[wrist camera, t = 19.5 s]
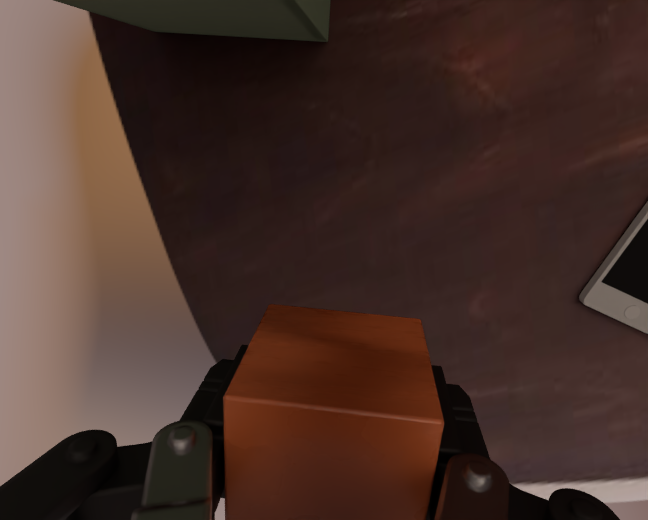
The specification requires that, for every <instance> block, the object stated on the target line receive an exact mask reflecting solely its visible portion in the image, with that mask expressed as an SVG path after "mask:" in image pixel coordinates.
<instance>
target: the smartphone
mask: <svg viewBox="0 0 648 520" xmlns="http://www.w3.org/2000/svg"><path fill="white" fill-rule="evenodd" d="M579 300H580V301H581V302H582V303H583V304H584V305H586V306H588V307H590V308H592V309H595V310H597V311H599V312H601V313H603V314H606V315H608V316H610V317H612V318H614V319H616V320H619V321H621V322H623V323H625V324H627V325H629V326H632V327H634V328H636V329H638V330H640V331H642V332H645V333H647V334H648V201H647V203H646V204H645V205H644V207H643V208H642V209H641V211H640V212H639V214H638V215H637V216H636V218H635V219H634V220H633V222H632V223H631V225H630V226H629V227H628V229H627V230H626V231H625V233H624V234H623V236H622V237H621V238H620V240H619V241H618V242H617V244H616V245H615V247H614V248H613V249H612V251H611V252H610V253H609V255H608V256H607V258H606V259H605V260H604V262H603V263H602V264H601V266H600V267H599V269H598V270H597V271H596V273H595V274H594V275H593V277H592V278H591V280H590V281H589V282H588V284H587V285H586V286H585V288H584V289H583V291H582V292H581V294H580V296H579Z"/></svg>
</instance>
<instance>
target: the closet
mask: <svg viewBox="0 0 648 520" xmlns="http://www.w3.org/2000/svg"><path fill="white" fill-rule="evenodd" d="M54 1H58V2H61V3H64V4H67V5H70V6H74V7H77V8H80V9H83V10H87V11H90V12H93V13H96V14H99V15H103V16H106V17H109V18H112V19H116V20H119V21H122V22H125V23H128V24H132V25H135V26H138V27H141V28H144V29H148V30H151V31H154V32H169V33H186V34H202V35H219V36H236V37H253V38H270V39H286V40H303V41H320V42H328V33H329V17H330V0H54Z"/></svg>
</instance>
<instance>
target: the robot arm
mask: <svg viewBox="0 0 648 520" xmlns="http://www.w3.org/2000/svg"><path fill="white" fill-rule="evenodd" d="M248 346H249V345H242V346H241V347H240V349H239V351H238V353H237V355H236V357H235V359H234V360H226V359H222V360H221V361H220V362H218V363H217V364H215V365H214V366H213V367H211V368H210V370H209V371H208V373H207V375H206V376H205V378H204V381H203V382H202V383H201V385H200V387H199V390H198V391H197V392H196V394H195V395H194V397H193V399H192V400H191V402H190V404H189V405H188V407H187V409H186V410H185V412H184V414H183V415H182V417H181V419H180V421H177V422H174V423H171V424H169V425H167V426H165V427H164V428H162V429H161V430H160V431H159V432H158V433H157V434H156V435H155V437H154V439H153V441H152V442H148V443H143V444H137V445H129V446H121V447H117V443H116V439H115V437H114V436H113V435H112V434H111V433H109V432H107V431H103V430H87V431H82V432H79V433H76V434H74V435H71V436H69V437H68V438H66V439H64V440H62V441H61V442H60V443H58V444H57V445H56V446H54V447H53V448H52V449H50V450H49V451H47V452H46V453H45V454H44V455H42V456H41V457H39V458H38V459H37V460H35V461H34V462H33V463H32V464H30V465H29V466H27V467H26V468H25V469H23V470H22V471H21V472H19V473H18V474H16V475H15V476H14V477H12V478H11V479H10V480H8V481H7V482H6V483H4V484H3V485H2V486H0V520H215V511H216V509H217V506H218V503H219V501H220V498H225V477H224V417H223V397H224V395H225V393H226V391H227V389H228V387H229V385H230V383H231V381H232V379H233V377H234V375H235V372H236V370H237V368H238V366H239V364H240V362H241V360H242V358H243V356H244V354H245V352H246V350H247V348H248ZM431 366H432V371H433V375H434V379H435V384H436V388H437V392H438V397H439V401H440V406H441V410H442V414H443V419H444V428H443V433H442V439H441V444H440V449H439V455H438V460H437V465H436V470H435V476H434V481H433V486H432V492H431V497H430V502H429V507H428V513H427V518H426V520H620V519H619V518H618V517H617V516H616V515H615V514H614V512H613V511H612V510H611V509H610V508H609V507H608V506H606V505H605V504H604V503H603V502H601V501H600V500H599V499H597V498H595V497H593V496H592V495H590V494H587V493H585V492H582V491H579V490H575V489H568V488H565V489H558V490H556V491H554V492H553V493H552V494H551V496H550V498H549V501H548V500H546V499H543V498H540V497H538V496H535V495H532V494H530V493H527V492H524V491H522V490H520V489H518V488H516V487H514V486H513V485H511V484H510V483H509V480H508V477H507V476H506V474H505V472H504V471H503V470H502V469H501V468H500V467H499V466H498V465H497V464H496V463H495V462H493V461H491V460H490V457H489V454H488V451H487V448H486V445H485V442H484V439H483V436H482V433H481V430H480V427H479V424H478V423H477V418H476V415H475V412H474V409H473V406H472V403H471V400H470V397H469V396H468V395H467V394H466V393H465V392H464V390H463V389H462V388H461V387H460V386H459V385H453V384H446V381H445V378H444V374H443V370H442V367H441V366H434V365H431Z"/></svg>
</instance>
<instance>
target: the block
mask: <svg viewBox="0 0 648 520" xmlns="http://www.w3.org/2000/svg"><path fill="white" fill-rule="evenodd" d="M223 417H224V477H225V520H426V518H427V513H428V507H429V502H430V497H431V492H432V486H433V481H434V476H435V470H436V465H437V460H438V455H439V449H440V444H441V439H442V433H443V428H444V419H443V414H442V410H441V406H440V401H439V397H438V392H437V388H436V384H435V379H434V375H433V371H432V366H431V362H430V357H429V353H428V349H427V344H426V340H425V336H424V331H423V327H422V322H421V320H420V319H415V318H405V317H395V316H385V315H375V314H365V313H355V312H345V311H335V310H325V309H315V308H305V307H295V306H285V305H275V304H270V305H268V308H267V310H266V312H265V314H264V316H263V318H262V320H261V322H260V324H259V326H258V328H257V330H256V332H255V334H254V336H253V338H252V340H251V342H250V344H249V346H248V348H247V350H246V352H245V354H244V356H243V358H242V360H241V362H240V364H239V366H238V368H237V370H236V372H235V375H234V377H233V379H232V381H231V383H230V385H229V387H228V389H227V391H226V393H225V395H224V397H223Z"/></svg>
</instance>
